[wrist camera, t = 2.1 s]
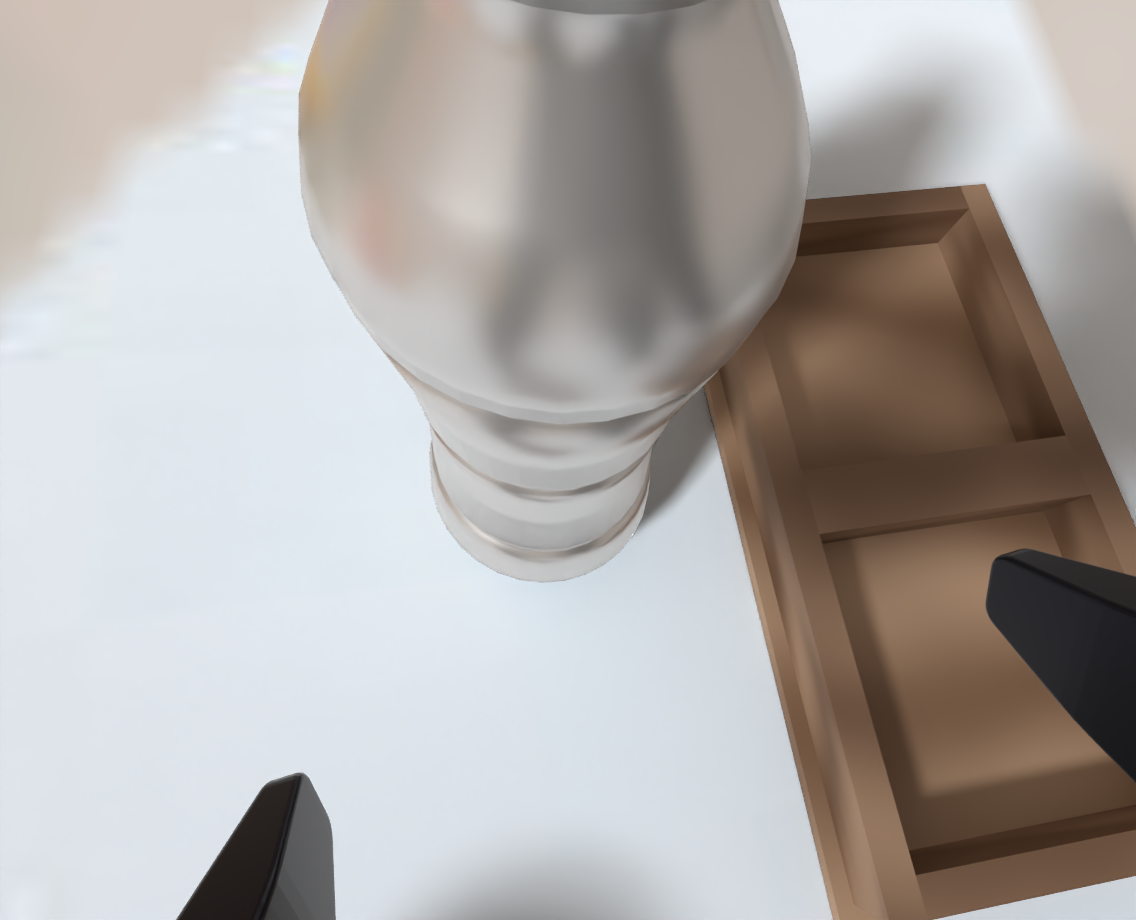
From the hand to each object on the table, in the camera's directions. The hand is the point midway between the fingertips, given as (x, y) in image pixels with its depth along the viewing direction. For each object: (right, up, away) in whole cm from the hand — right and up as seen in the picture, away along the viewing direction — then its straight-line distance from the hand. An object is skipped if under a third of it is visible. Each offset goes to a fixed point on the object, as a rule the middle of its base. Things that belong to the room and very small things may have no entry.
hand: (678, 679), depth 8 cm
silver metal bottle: (-2, +1, +14) cm, 15 cm away
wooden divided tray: (+10, +1, +15) cm, 18 cm away
